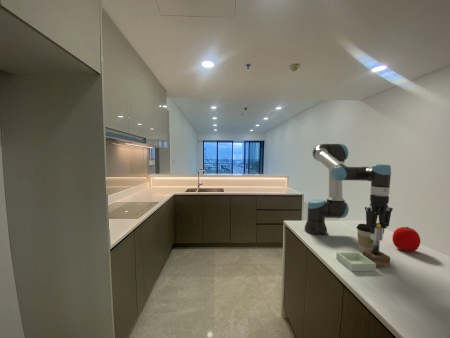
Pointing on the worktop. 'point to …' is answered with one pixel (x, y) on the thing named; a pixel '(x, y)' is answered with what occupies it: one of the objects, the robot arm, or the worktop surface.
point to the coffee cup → (364, 237)
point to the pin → (377, 239)
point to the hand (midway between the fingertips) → (376, 239)
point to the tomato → (406, 239)
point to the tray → (356, 261)
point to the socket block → (377, 258)
